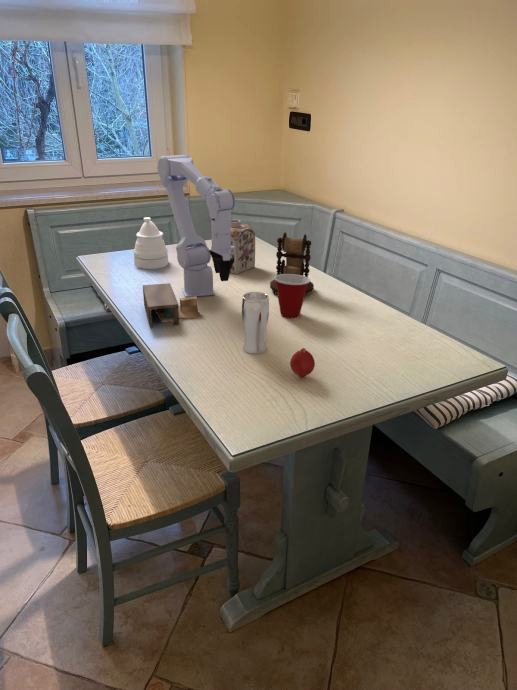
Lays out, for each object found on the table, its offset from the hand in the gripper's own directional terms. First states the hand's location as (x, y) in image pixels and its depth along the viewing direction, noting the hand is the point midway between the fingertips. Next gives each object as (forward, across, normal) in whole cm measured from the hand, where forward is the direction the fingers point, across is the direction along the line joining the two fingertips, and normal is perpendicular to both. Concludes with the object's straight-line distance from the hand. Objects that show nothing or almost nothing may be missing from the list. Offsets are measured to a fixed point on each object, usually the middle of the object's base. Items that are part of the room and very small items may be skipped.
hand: (221, 276), depth 161 cm
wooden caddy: (+10, -2, +19) cm, 22 cm away
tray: (+10, -3, +14) cm, 18 cm away
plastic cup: (+10, -11, -19) cm, 24 cm away
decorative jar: (+10, +37, -13) cm, 41 cm away
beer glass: (+10, -31, -2) cm, 33 cm away
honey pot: (+10, +49, +17) cm, 53 cm away
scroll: (+10, +8, -26) cm, 29 cm away
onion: (+10, -48, -9) cm, 50 cm away
